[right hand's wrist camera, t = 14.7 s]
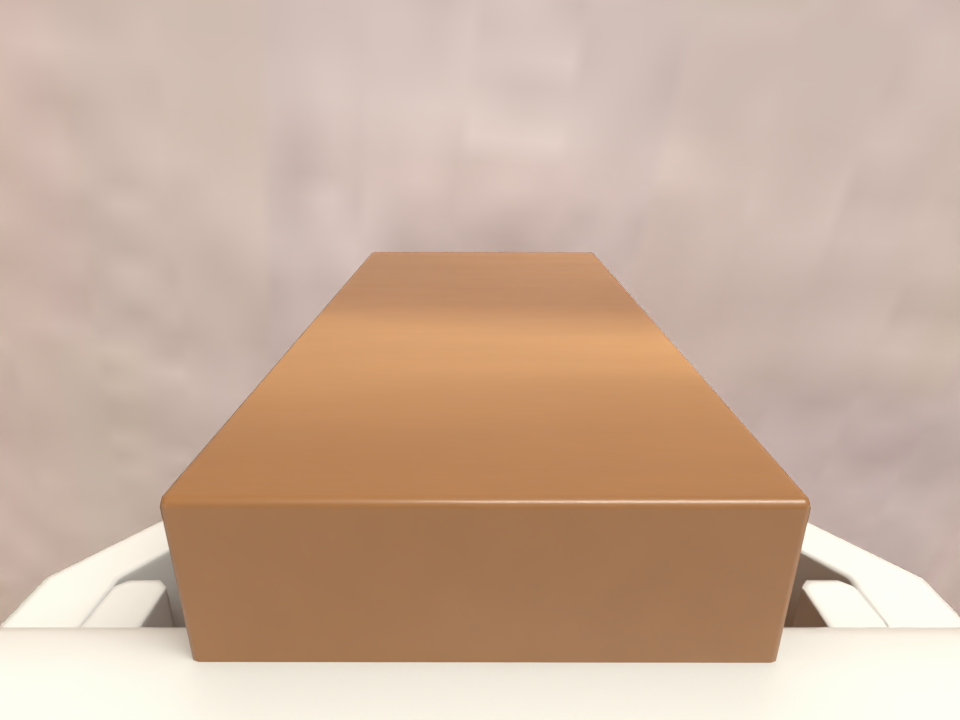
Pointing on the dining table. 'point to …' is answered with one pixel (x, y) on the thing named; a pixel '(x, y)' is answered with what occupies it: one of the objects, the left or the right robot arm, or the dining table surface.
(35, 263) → the dining table surface
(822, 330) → the dining table surface
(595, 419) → the bar
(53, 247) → the dining table surface
